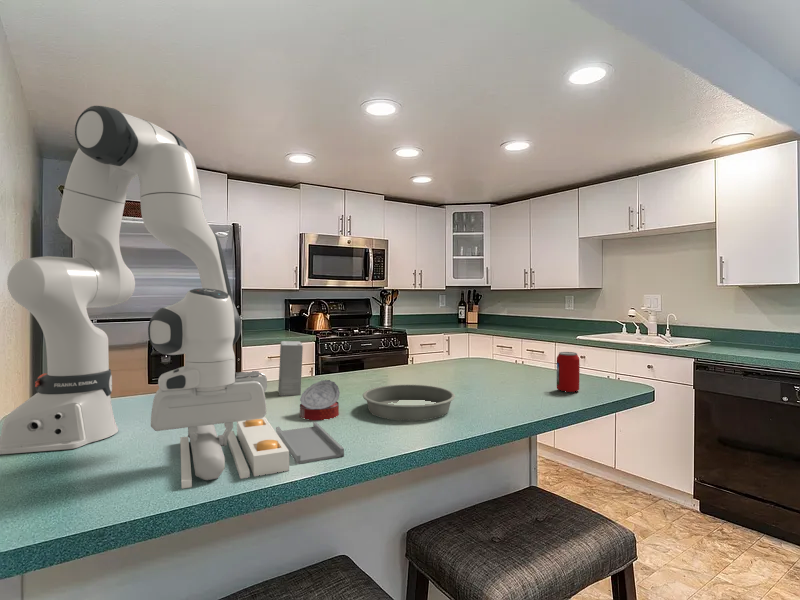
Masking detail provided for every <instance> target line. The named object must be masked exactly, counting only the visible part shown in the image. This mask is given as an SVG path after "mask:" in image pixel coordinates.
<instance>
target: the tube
mask: <svg viewBox="0 0 800 600" xmlns="http://www.w3.org/2000/svg"><path fill="white" fill-rule="evenodd" d="M187 434H188V435H187V436H188V439H189V444H190V448H191V450H190V451H191V455H192V462H193V470H194V474H195V476H196V477H197V478H199V479H201V480H203V481H205V482H206V481H212V480H217V479H219V478H220V476H221V474H222V473H223V472H224V470H225V469H226V467H225V465H226V462H225V461H226V457H225V455H224V451H223V448H222V446H221V445H220V442H219V439H218V436H219V435H218V433H217V431H216V427H215V424H212V425H204V426H197V432H196V434H197V435H198V439H197V441H195V440H194V439H193V437H192V436H191V435H190V433H189V427H187Z"/></svg>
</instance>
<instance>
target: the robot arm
mask: <svg viewBox="0 0 800 600" xmlns="http://www.w3.org/2000/svg"><path fill="white" fill-rule="evenodd" d="M74 136H75V142H76V144H77V147H78V149H77V151H76V152H75V155H74V156H73V159H72V161H71V164H70V167H69V170H68V173H67V177H66V179H65V184H64V188H63V194H62V197H61V202H60V208H59V214H58V218H57V224H58V227H59V229H60V230H61V232H63V234H65V235H66V236H67V237H68V238H70V239H71V240H72V243H73V245H74V255H73V256H74V257H67V256H66V257H64V256H53V255H52V256H50V255H45V256H36V257H30V258H29V257H28V258H24V259H23V258H22V259H21V260H19V261H16V263H14V265H13V266H12V268H11V269H10V271H9V273H8V275H7V283H6V284H7V289H8V292H9V294H10V296H11V297H12V299H13V300H14V301H15V302H16V303H17V304H18V305H20V306H22V307H23V308H24V309H26V310H27V311H28V312H30V314H31V315H32V316H33V317H34V318H35V320H36V321H37V323H38V324H39V327H40V328H41V331H42V333H43V336H44V340H45V348H46V351H45V352H46V365H47V373H45V372H44V373H42V374H40V375H39V376H38V377H37V379H36V380H35V382H34V383H35V384H34V385H35V386H34V387H35V391H36V393H35V394H33V396H30V398H28V399H27V400H26V401H24V402H22V403H21V404H20V405H19V406H17V407H16V408H14V409H13V410H12V411H10V413H8V414H7V416H6V417H5V419H4V421H3V422H2V426H1V432H0V455H10V454H21V453H22V454H23V453H33V452H35V453H37V452H47V451H49V452H50V451H61V450H72V449H77V448H81V447H82V446H85V445H88V444H91V443H95V442H97V441H101V440H103V439H108V438H110V437H111V436H113V435H116V434H117V433H118V432H119V427H118V424H117V423H116V419H115V416H114V411H113V406H112V405H113V404H112V398H111V395H112V392H113V375H112V370H111V369H110V365H109V363H110V359H109V355H110V354H109V353H110V352H109V336H108V335H107V333H106V331H104V330H103V329H102V328H99V327H98V326H95V325H94V323H93V322H92V320H91V319H90V317H89V314H88V310H87V309H92V308H94V309H96V308H108V307H111V306H112V307H113V306H116V305H119V304H122V303H125V302H127V301H129V299H130V298H131V297H132V296H133V294H134V292H135V287H136V280H135V275H134V274H133V272H132V270H131V269H130V268H129V267H128V266H127V265H126V263H125V261H124V259H123V256H122V252H121V247H120V232H121V228H122V227H121V225H122V220H123V214H124V209H125V205H126V199H127V195H128V188H129V185H130V183H131V182H132V180H133V179H135V178H137V177H138V180H139V198H140V199H139V200H140V213H141V218H142V222H143V225H144V227H145V229H146V230H147V232H148V233H150V235H151V236H152V237H153V238H155V239H156V240H157V241H159V242H160V243H162V244H163V245H165V246H167V247H170V248H171V249H174V250H176V251H178V252H180V253H181V254H182V255H183V254H184V255H185V256H186V257H188V259H190V260H191V261H192V262H193V263H194V265H195V266H196V268H197V271H198V275H199V279H200V283H201V287H200V288H198V287H197V288H193V289H190V290H188V291H187V293H185V296H184V297H183V298H182V299H180V300H179V301H177V302H175V303H174V304H170V305H168V306H165V307H161V308H159V309H157V310H156V311H155V312H154V314H152V316H151V318H150V319H149V322H148V325H147V333H148V334H147V335H148V340H149V342H150V345H151V346H152V347H153V348H154V349H155V350H156V351H157V352H158V353H160V354H162V355H168V356H169V355H170V356H176V355H177V356H178V355H183V354H185V355H184V357H185V358H184V366H180V367H178V368H176V369H173V370H169V371H167V372H164V373H162V374H161V375H160V376H159V377H158V381H157V385H158V389H157V390H156V392H155V394H154V398H153V401H152V405H151V413H150V414H151V416H150V427H151V429H153V430H154V431H156V432H160V431H161V432H162V431H169V430H177V429H185V428H187V429H188V427H189V433H190V435H191V436H192V437H193V439H194V440H195V441H197V439H198V435H197V434H196V432H197V426H204V425H212V424H214V425H219V424H223V425H224V428H225V429H224V431H223V433H222V434H221V435H217V436H218V439H219V442H220V445H221V447H227V446H228V441H227V437H228V435H229V434H230V432H231V431H233V428H234V423H237V422H238V421H246V420H254V419H262V418H263V417H266V414H267V401H266V395H265V394H266V393H265V392H266V390H267V388H268V379H267V376H266V375H265V374H264V373H261V372H260V371H257V370H252V371H239V372H238V371H237V372H236V356H235V355H236V354H235V352H234V346H235V344H236V343H237V341H238V340H239V338H240V336H241V333H242V320H241V317H240V315H239V312H238V309H237V307H236V304H235V302H234V298H233V293H232V288H231V284H230V279H229V278H230V277H229V274H228V270H227V265H226V260H225V256H224V252H223V249H222V245H221V241H220V240H219V237H218V235H217V234H216V233H215V231H214V230H213V229H212V228H211V227H210V224H209V223H208V220H207V217H206V215H205V213H204V208H203V201H202V199H203V198H202V189H201V185H200V179H199V173H198V170H197V166H196V165H197V164H196V162H195V158H194V156H193V155H192V153H191V152H190V151H189V150H188V147H187V145H186V144H185V142H184V141H183V140H182V138H180V137H179V136H178V135H176V134H174V133H173V132H171V131H170V130H166V129H164V128H162V127H160V126H158V124H155V123H154V122H151V121H148V120H147V119H144V118H141V117H140V118H139V117H136V116H134V115H131V114H129V113H124V112H121V111H120V110H118V109H116V108H113V107H109V106H104V105H91V106H89V107H87V108H86V109H84V110H83V111H82V112H81V114H80V115H79V116H78V117H77V120H76V122H75V125H74Z"/></svg>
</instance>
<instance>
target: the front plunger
mask: <svg viewBox="0 0 800 600" xmlns="http://www.w3.org/2000/svg"><path fill="white" fill-rule="evenodd" d="M276 448H277V441H276V440H263V441H260V442H258V443H257V451H263V450H270V449H276Z"/></svg>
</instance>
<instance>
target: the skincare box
mask: <svg viewBox="0 0 800 600" xmlns="http://www.w3.org/2000/svg"><path fill="white" fill-rule="evenodd" d="M279 347H280V350H279V371H278V372H279V373H278V386H277V387H278V389H277V390H278V394H279V396H281V397H282V396H283V397H284V396H285V397H286V396H287V397H288V396H302V373H303V372H302V371H303V349H304V345H303V342H302V341H300V340H298V341H297V340H296V341H294V340H293V341H292V340H291V341H290V340H282V341H280V345H279Z"/></svg>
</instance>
